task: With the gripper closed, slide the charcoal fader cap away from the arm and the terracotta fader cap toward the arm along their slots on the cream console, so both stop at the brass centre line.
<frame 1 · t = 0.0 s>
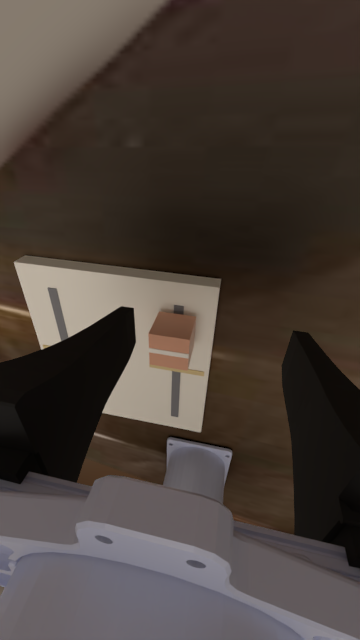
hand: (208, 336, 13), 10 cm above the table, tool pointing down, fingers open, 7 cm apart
console: (126, 349, 29), on the table
fader terracotta: (172, 340, 22), point 4 cm above the table, slide at 11.0 cm
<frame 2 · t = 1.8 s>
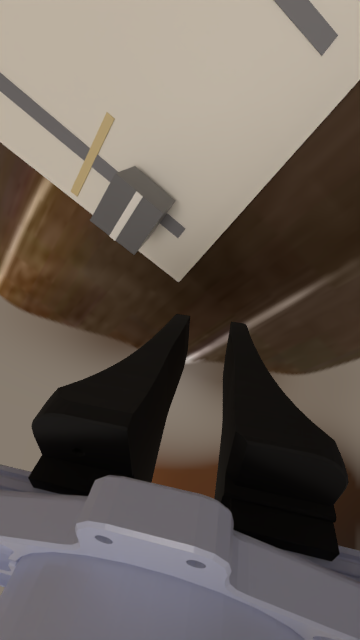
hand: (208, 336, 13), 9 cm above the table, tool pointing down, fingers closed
console: (146, 63, 15), on the table
fader charcoal: (134, 210, 16), point 4 cm above the table, slide at 2.0 cm
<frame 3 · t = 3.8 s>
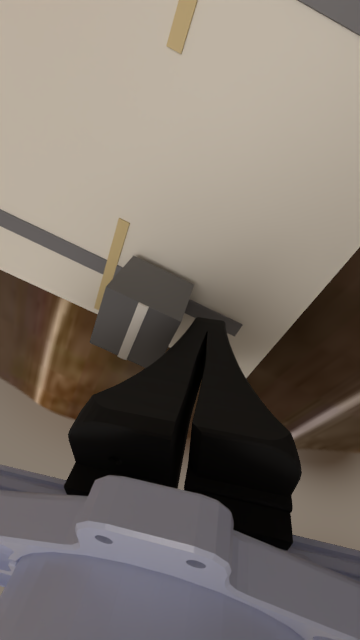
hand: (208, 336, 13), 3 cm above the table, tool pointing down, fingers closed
console: (156, 146, 12), on the table
fader charcoal: (143, 313, 12), point 4 cm above the table, slide at 3.6 cm, touching gripper
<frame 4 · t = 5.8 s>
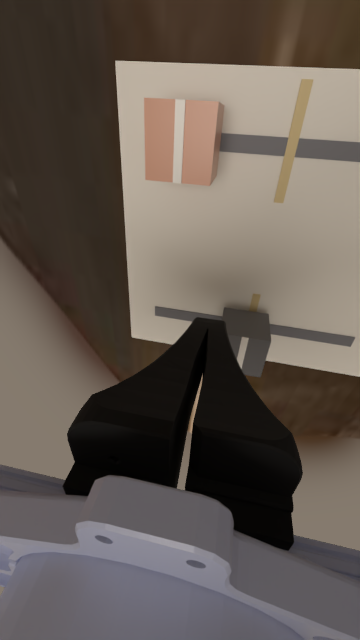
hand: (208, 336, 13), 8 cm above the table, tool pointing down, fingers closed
console: (265, 244, 19), on the table
fader charcoal: (241, 341, 19), point 4 cm above the table, slide at 6.5 cm
fader terracotta: (185, 142, 13), point 4 cm above the table, slide at 11.0 cm
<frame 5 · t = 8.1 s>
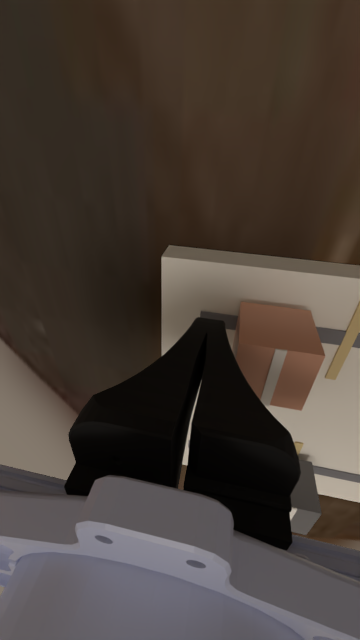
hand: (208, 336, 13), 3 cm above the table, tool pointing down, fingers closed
console: (308, 393, 18), on the table
fader charcoal: (284, 492, 18), point 4 cm above the table, slide at 6.5 cm
fader terracotta: (269, 354, 12), point 4 cm above the table, slide at 9.7 cm, touching gripper
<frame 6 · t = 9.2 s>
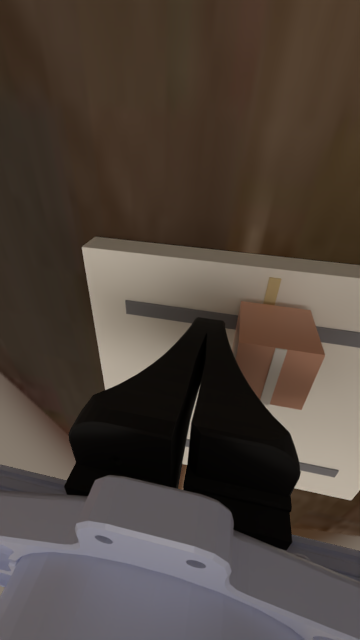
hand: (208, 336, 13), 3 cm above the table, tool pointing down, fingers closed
console: (244, 381, 18), on the table
fader terracotta: (269, 353, 12), point 4 cm above the table, slide at 5.8 cm, touching gripper
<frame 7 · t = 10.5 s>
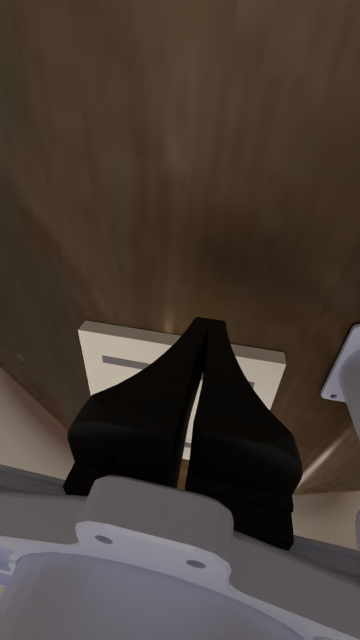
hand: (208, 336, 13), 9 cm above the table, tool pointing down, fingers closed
console: (176, 398, 30), on the table
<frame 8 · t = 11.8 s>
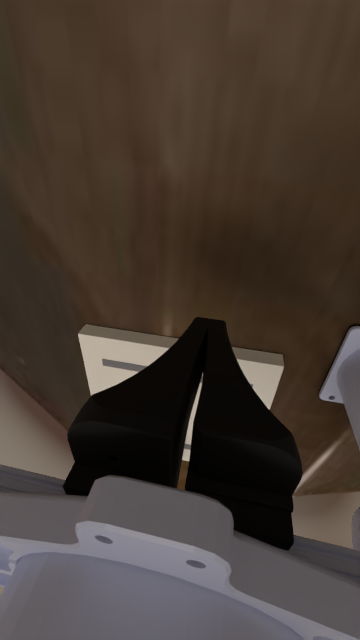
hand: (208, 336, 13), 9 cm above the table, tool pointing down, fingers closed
console: (176, 400, 31), on the table
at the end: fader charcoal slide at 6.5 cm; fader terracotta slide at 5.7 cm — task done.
